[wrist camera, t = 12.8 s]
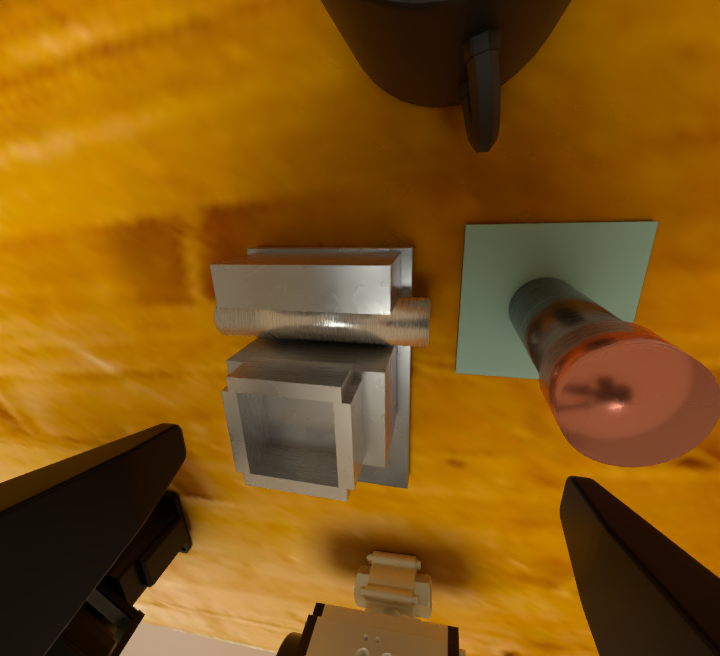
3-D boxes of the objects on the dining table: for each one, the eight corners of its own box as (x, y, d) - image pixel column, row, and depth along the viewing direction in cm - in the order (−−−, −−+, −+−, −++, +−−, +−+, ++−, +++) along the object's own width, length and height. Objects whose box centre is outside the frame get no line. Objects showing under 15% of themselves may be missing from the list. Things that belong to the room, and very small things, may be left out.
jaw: (396, 423, 20) (377, 506, 15) (276, 410, 22) (219, 480, 16) (396, 333, 18) (375, 390, 13) (265, 326, 20) (197, 374, 14)
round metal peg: (500, 340, 18) (548, 458, 10) (508, 272, 17) (569, 343, 9) (576, 344, 17) (696, 475, 9) (590, 273, 16) (743, 351, 8)
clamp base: (424, 477, 23) (418, 549, 18) (272, 455, 25) (231, 514, 20) (433, 245, 18) (429, 260, 13) (242, 246, 20) (179, 259, 15)
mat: (455, 369, 20) (455, 373, 19) (465, 224, 17) (465, 224, 17) (614, 381, 18) (617, 385, 18) (653, 220, 15) (658, 221, 15)
